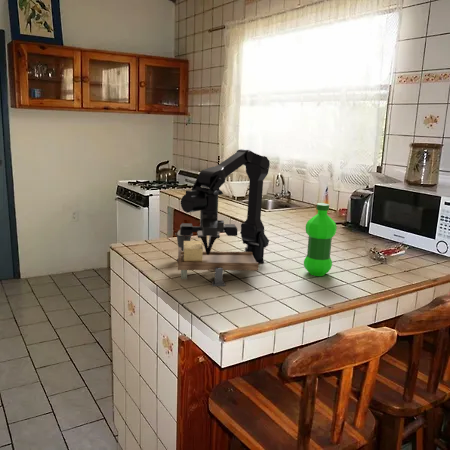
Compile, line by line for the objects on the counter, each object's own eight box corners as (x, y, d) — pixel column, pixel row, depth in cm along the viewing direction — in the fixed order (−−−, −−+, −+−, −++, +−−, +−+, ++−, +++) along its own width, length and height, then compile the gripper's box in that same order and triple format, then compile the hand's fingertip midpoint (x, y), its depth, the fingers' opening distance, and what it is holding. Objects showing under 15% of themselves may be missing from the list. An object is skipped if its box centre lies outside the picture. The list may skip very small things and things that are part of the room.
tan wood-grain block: (200, 254, 157) (201, 241, 156) (202, 263, 148) (202, 249, 147) (183, 254, 157) (183, 240, 156) (183, 263, 147) (184, 248, 146)
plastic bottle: (338, 276, 160) (345, 206, 154) (314, 280, 154) (321, 207, 149) (318, 267, 168) (324, 201, 162) (296, 271, 163) (301, 202, 157)
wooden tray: (251, 259, 162) (252, 247, 161) (258, 272, 148) (259, 260, 147) (178, 258, 160) (178, 247, 159) (178, 272, 145) (178, 259, 144)
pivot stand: (219, 267, 164) (220, 252, 163) (224, 286, 146) (225, 269, 144) (180, 267, 163) (181, 252, 161) (180, 285, 144) (181, 269, 143)
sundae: (176, 263, 167) (176, 223, 164) (173, 257, 173) (173, 219, 170) (193, 262, 169) (194, 222, 165) (190, 257, 175) (191, 218, 172)
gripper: (180, 213, 140) (179, 261, 144) (240, 214, 142) (238, 262, 146) (180, 206, 151) (179, 251, 155) (236, 207, 153) (234, 252, 157)
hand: (207, 254), depth 153 cm, fingers closed
